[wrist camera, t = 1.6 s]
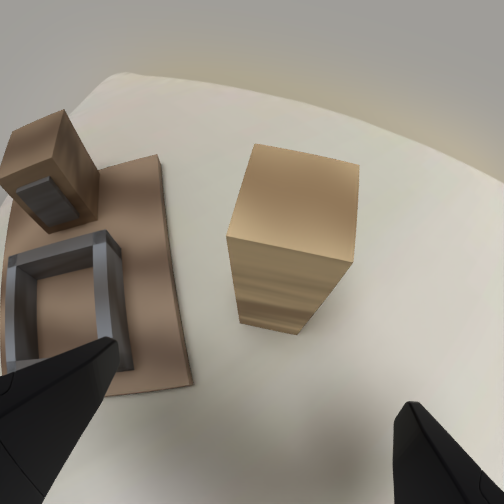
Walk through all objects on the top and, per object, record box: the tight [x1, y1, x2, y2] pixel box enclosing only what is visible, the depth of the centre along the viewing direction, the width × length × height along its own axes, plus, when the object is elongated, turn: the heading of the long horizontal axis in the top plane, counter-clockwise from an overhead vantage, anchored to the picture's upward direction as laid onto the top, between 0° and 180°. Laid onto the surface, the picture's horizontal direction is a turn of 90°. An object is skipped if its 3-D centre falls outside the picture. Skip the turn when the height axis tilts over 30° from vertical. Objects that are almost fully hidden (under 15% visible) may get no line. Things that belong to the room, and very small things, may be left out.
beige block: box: [226, 144, 359, 335], centre depth 16 cm, size 5×4×13 cm
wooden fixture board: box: [0, 109, 194, 397], centre depth 19 cm, size 19×16×10 cm
